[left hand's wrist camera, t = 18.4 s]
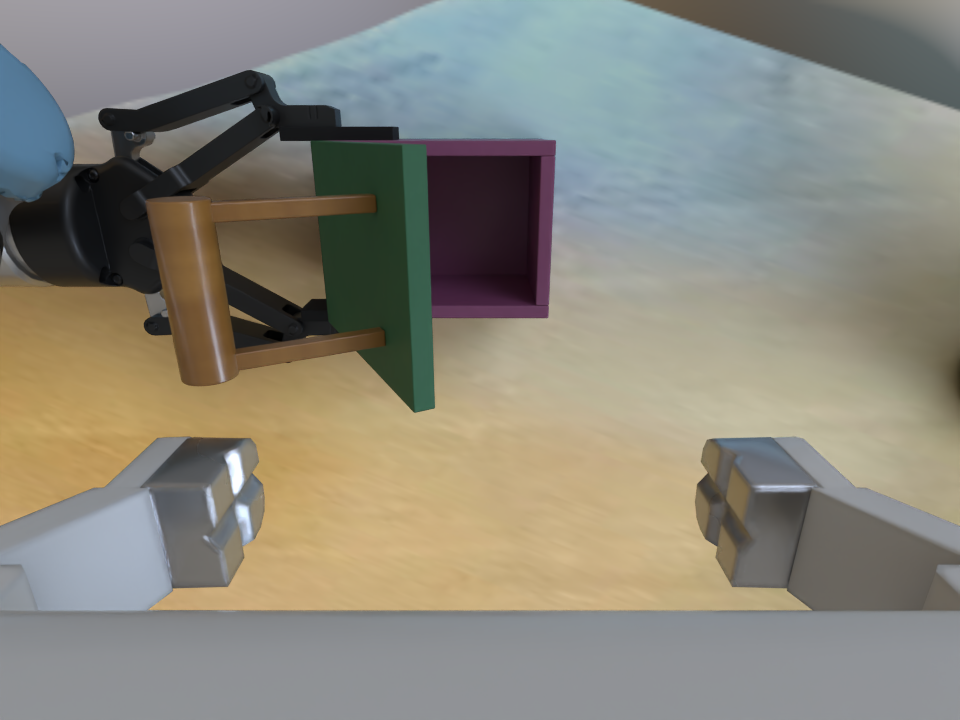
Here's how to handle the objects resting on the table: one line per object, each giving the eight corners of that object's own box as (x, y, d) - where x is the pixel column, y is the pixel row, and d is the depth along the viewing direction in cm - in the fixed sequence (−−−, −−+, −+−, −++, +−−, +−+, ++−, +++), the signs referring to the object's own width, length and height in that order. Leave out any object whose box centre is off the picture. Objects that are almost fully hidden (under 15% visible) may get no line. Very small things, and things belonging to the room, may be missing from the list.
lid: (426, 144, 20) (130, 147, 16) (435, 408, 24) (195, 462, 20) (327, 140, 32) (139, 141, 28) (343, 319, 35) (179, 343, 32)
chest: (541, 138, 40) (556, 140, 32) (536, 282, 44) (548, 318, 36) (355, 139, 41) (321, 140, 32) (366, 282, 44) (338, 318, 36)
